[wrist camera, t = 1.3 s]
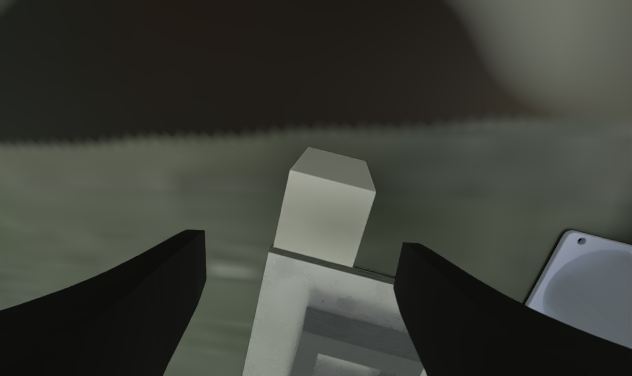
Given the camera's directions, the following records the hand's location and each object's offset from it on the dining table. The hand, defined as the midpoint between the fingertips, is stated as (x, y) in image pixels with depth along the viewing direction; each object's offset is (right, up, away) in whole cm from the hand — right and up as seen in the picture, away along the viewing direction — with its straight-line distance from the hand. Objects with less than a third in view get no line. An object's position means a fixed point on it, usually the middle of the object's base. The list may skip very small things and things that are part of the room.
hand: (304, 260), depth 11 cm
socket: (+3, -11, +14) cm, 18 cm away
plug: (+1, +3, +10) cm, 10 cm away
